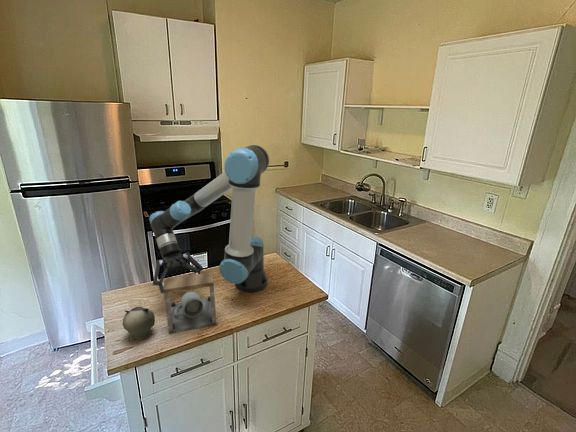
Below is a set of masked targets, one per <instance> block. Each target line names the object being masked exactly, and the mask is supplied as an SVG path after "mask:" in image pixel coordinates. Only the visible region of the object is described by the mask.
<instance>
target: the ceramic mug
mask: <svg viewBox="0 0 576 432" xmlns="http://www.w3.org/2000/svg"><path fill="white" fill-rule="evenodd" d="M201 300H202V299H201V297H200V295H199V294H198V293H197V292H196V291H188V292H185V293H184V294H183V295H182V297H181V301H180V303H181V305H179V306H178V307H177V308H176V309H175V311H174V315H175V316H176V317H182V316H184V315H186V316H187V317H196V316H198V315H199V314H200V313H201V312H202V311H203V307H204V306H203V302H202V301H201ZM181 308H183V312H182V313H180V314H177V312H178V311H179V310H180V309H181Z"/></svg>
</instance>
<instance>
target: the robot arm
mask: <svg viewBox="0 0 576 432" xmlns="http://www.w3.org/2000/svg"><path fill="white" fill-rule="evenodd" d="M269 164H270V158H269V154H268V152H267V151H266V149H265V148H263V147H262V146H260V145H257V144H256V145H255V144H254V145H253V144H252V145H248V146H245V147H240V148H236V149H235V150H233V151H232V152H229V154H228V156H227V157H226V158H225V161H224V165H223V167H224V171H223V172H222V173H220V175H218V176H216V178H214V179H212V181H210V182H208V183H207V184H206V185H205V186H202V188H201V189H199V190H198V191H196V192H195V193H193V194H192V195H190V196H189V197H188V198H186V199H185V200H177V201H176V202H175V203H172V204H171V206H170V207H169V208H167V209H166V210H165V211H163V210H160V211H156V212H154V213H151V214H150V215H149V218H148V219H149V220H148V221H149V224H150V228H151V229H152V232H153V235H154V237H155V240H156V244H157V247H158V249H159V253H160V255H161V258H162V259H156V260H155V271H154V274H153V275H154V276H153V281H152V285H153V286H158V289H159V291H160V293H161V294H164V292H163V286H164V279H165V277H166V275H167V273H168V271H169V268H170V269H174V268H177V267H178V268H179V267H180V266H181V267H184V268H185V269H186V270H189V271H191V272H192V273H194V275H197V274H201V272H202V271H203V270H204V267H203V266H202V265H201V264H200V263H199V262H198V261H197V260H196V259H195V258H194V257H193V256H192V255H191V253H190V252H189V251H186V252H185V253H183V254H182V252H181V249H180V246H179V244H178V241H177V238H176V236H175V233H174V230H173V229H175V228H176V226H177V227H178V226H179V225H180V224H181V223H182V222H184V221H186V220H187V219H189V218H191V217H192V216H194V215H196V214H198V213H200V212H202V211H203V210H204V209H205V208H206V207H208V206H209V205H211V204H212V203H214V202H215V201H217V200H218V199H219V198H221V197H222V196H224V194H226V193H228V192H229V191H231V204H230V205H231V208H230V220H229V225H230V226H229V237H228V244H227V245H225V248H224V255H223V256H224V258H223V260H222V261H221V262H220V264H219V267H218V268H219V269H218V270H219V273H220V275H221V277H222V278H224V280H225V281H227V282H228V283H230V284H234V285H235V288H236V289H237V290H239V291H240V292H244V293H256V292H259V291H262V290H264V289H265V288H267V286H268V284H269V282H268V280H269V279H268V276H267V273H266V270H265V264H264V263H265V262H264V258H265V256H264V250H265V249H264V248H265V245H264V240H263V239H262V238H261V237H259V236H255V235H252V234H253V233H252V232H253V231H252V230H253V221H254V220H253V218H254V209H255V208H254V207H255V196H256V190H258V188H260V187H261V178H262V177H261V176H262V175H261V174H263V173H264V172H265V171H267V170H268V167H269ZM184 259H186V260H187V261H188V262H190V263H188V262H187V261H186V260H184ZM162 265H165V268H164V270H163V272H162V274H161V276H160V278H159V272H160V268H161V266H162ZM158 279H159V280H158ZM202 289H203V288H198V290H202ZM169 299H170V297H169Z"/></svg>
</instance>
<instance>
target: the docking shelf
mask: <svg viewBox="0 0 576 432" xmlns="http://www.w3.org/2000/svg"><path fill="white" fill-rule="evenodd" d="M163 283H164V286H163V292H164V293H163V298H164V306H165V313H166V321H167V327H168V329H167V330H168V334H175V333H181V332H186V331H191V330H196V329H198V330H199V329H203V328H208V327H213V326H217V324H218V323H217V312H216V311H217V310H216V299H215V284H214V278H213V272H205V273H200V274H197V275H195V274H191V275H184V276H182V275H181V276H176V277H175V276H174V277H169V278H164V279H163ZM199 288H202V289H203V288H209V296H207V298H204V299H203V298H202V299H201V301H202V302H203V306H204V307H203V311H202V312H201V313H200V314H199V315H198V316H196V317H187V316H186V315H184V316H182V317H176V316H175V315H174V311H175V309H176V308H177V307H178V306H179V305H181V302H177V303H176V301H170V299H169V298H170V293H174V292H175V293H176V292H182V291H190V290H196V289H199ZM182 312H183V308H181V309H180V310H179V311H178V312H177V314H180V313H182Z"/></svg>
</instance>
